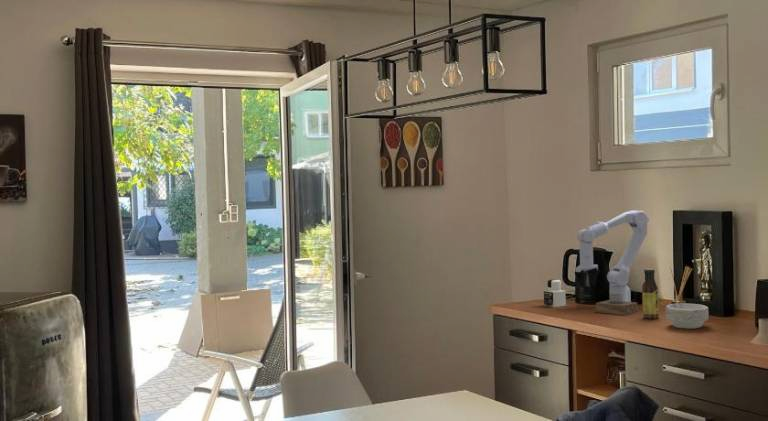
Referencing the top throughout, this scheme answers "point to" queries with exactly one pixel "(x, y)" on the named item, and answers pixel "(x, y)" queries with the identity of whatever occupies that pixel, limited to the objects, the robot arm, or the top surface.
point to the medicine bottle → (554, 294)
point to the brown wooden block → (616, 307)
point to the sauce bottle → (650, 295)
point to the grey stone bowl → (687, 315)
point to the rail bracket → (615, 298)
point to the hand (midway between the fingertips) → (587, 286)
